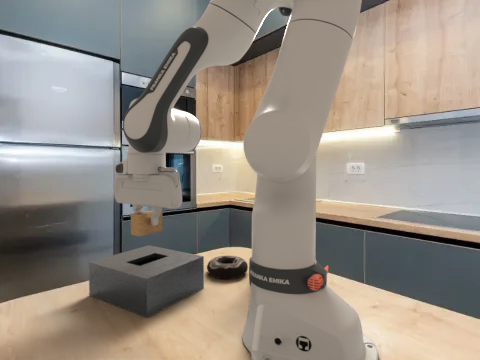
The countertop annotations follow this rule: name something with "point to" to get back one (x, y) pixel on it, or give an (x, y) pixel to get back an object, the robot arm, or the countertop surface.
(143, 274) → the post box
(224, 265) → the donut
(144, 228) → the brown wooden block
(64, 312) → the countertop surface
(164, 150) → the robot arm
